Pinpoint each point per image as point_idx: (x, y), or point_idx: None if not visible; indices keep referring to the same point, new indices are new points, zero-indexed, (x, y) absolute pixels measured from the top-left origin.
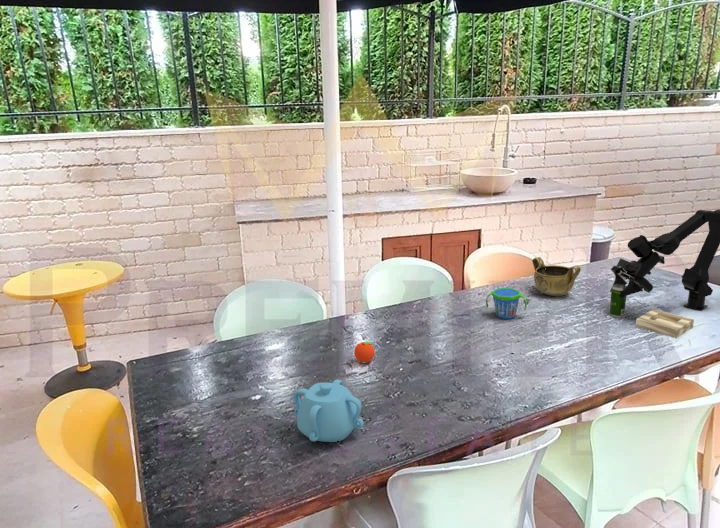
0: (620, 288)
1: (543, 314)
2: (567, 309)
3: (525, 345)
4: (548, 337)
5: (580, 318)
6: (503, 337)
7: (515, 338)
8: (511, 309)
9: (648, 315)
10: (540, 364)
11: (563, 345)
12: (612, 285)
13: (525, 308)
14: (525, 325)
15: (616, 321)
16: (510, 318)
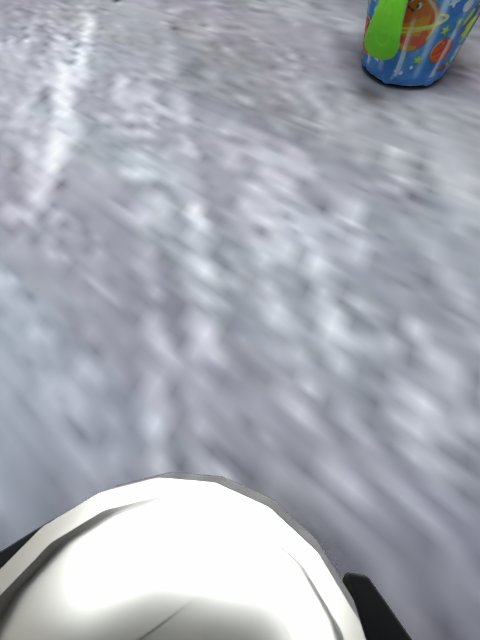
0: (4, 569)
1: (386, 170)
2: (440, 306)
3: (137, 29)
4: (147, 86)
5: (268, 283)
6: (221, 15)
7: (197, 30)
8: (368, 8)
9: None
10: (17, 14)
11: (62, 90)
12: (312, 549)
13: (365, 39)
14: (285, 79)
15: (105, 467)
16: (363, 63)
